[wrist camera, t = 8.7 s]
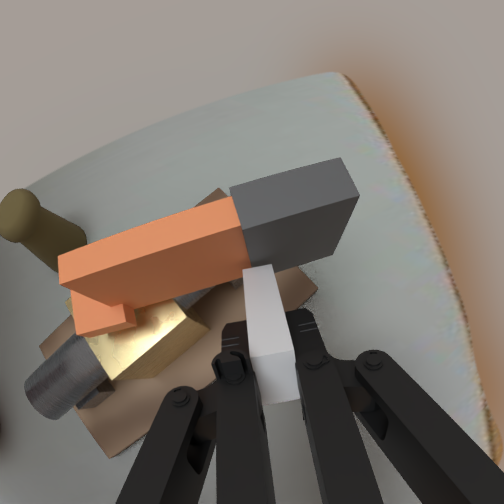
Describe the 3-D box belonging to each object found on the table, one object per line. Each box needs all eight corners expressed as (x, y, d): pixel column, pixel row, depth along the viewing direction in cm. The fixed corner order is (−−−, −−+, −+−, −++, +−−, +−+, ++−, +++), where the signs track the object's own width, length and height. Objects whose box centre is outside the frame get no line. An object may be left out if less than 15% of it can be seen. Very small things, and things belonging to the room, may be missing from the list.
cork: (81, 216, 35) (28, 167, 24) (91, 259, 33) (31, 217, 22) (44, 239, 34) (-13, 199, 24) (52, 282, 32) (-12, 249, 22)
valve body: (58, 368, 27) (6, 362, 20) (233, 215, 31) (220, 169, 24) (94, 425, 25) (44, 436, 18) (283, 267, 29) (285, 232, 22)
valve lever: (99, 340, 20) (17, 320, 12) (91, 290, 21) (15, 251, 13) (334, 270, 20) (367, 212, 12) (315, 221, 21) (333, 143, 14)
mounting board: (47, 347, 30) (39, 346, 28) (221, 194, 34) (218, 187, 33) (116, 455, 25) (109, 458, 24) (316, 291, 30) (318, 287, 28)
